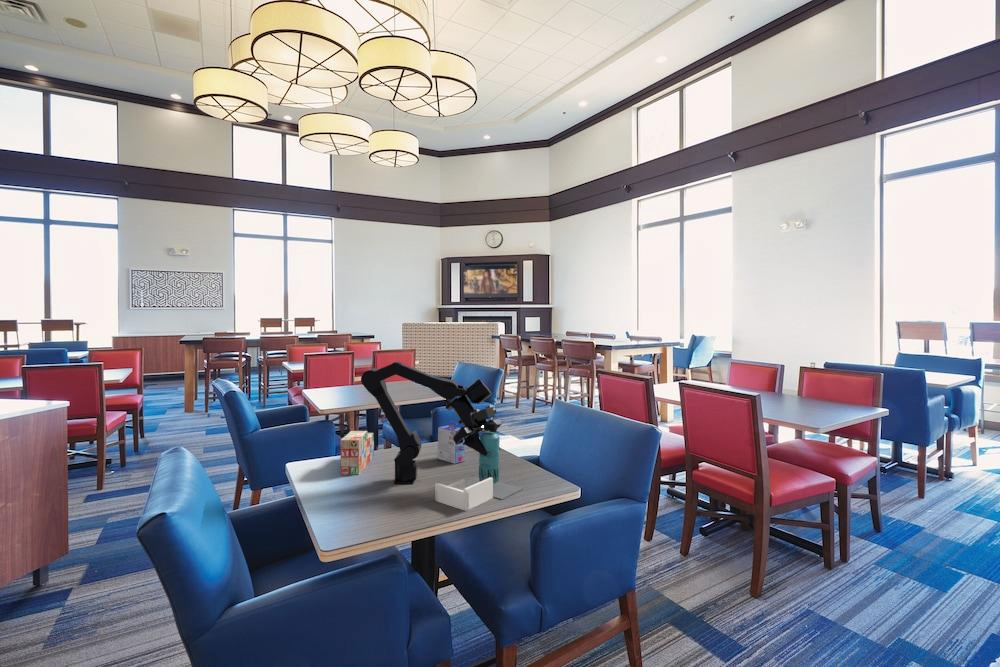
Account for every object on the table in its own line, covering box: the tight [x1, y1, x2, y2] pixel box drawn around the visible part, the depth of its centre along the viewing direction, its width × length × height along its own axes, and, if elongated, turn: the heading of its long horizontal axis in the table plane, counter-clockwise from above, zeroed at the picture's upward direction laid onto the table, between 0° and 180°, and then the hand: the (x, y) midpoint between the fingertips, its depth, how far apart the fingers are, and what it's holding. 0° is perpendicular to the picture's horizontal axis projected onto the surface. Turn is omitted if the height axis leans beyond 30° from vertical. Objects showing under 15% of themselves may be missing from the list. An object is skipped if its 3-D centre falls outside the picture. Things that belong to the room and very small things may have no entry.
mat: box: [465, 475, 524, 501], centre depth 148 cm, size 18×11×1 cm, turn 53°
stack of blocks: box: [340, 430, 375, 476], centre depth 170 cm, size 21×6×12 cm, turn 2°
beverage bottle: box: [478, 421, 501, 484], centre depth 148 cm, size 6×7×20 cm
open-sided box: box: [434, 477, 494, 512], centre depth 138 cm, size 12×12×6 cm
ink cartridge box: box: [437, 420, 466, 465], centre depth 176 cm, size 10×6×14 cm, turn 49°
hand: (492, 452), depth 147 cm, fingers closed on beverage bottle, 6 cm apart
